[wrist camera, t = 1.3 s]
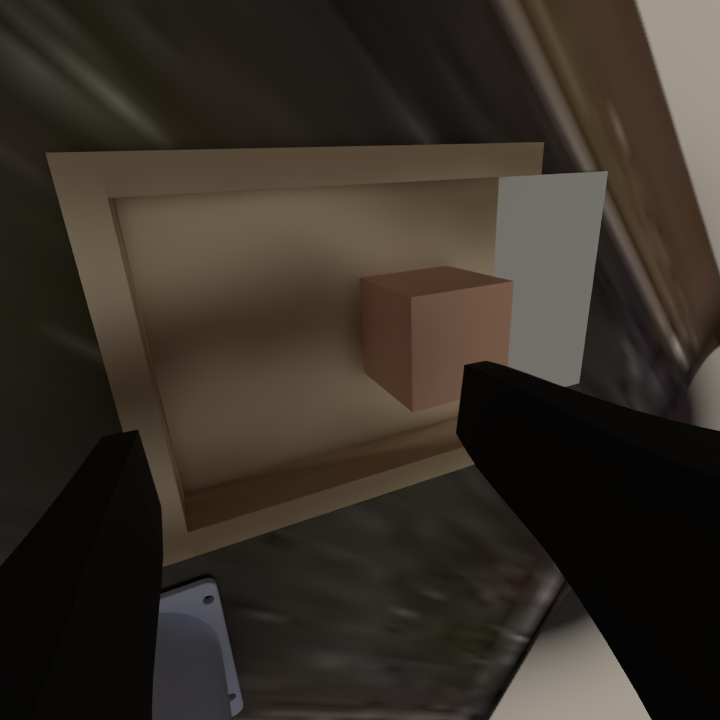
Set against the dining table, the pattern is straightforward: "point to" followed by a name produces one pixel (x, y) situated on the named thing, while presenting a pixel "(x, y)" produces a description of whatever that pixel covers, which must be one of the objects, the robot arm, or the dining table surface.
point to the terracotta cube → (432, 330)
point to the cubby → (270, 316)
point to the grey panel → (549, 267)
